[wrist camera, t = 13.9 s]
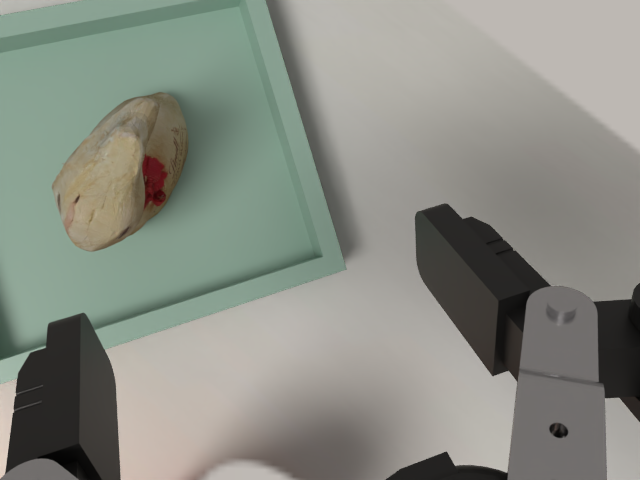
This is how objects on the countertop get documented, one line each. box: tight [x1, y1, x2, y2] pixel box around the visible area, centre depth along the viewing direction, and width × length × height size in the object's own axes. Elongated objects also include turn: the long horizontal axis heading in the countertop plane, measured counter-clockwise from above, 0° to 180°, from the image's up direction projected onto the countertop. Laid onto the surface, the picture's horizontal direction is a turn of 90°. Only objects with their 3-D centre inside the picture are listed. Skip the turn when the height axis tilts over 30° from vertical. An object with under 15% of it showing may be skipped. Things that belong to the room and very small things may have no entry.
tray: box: [0, 0, 346, 384], centre depth 29 cm, size 18×16×2 cm
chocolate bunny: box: [52, 92, 189, 252], centre depth 25 cm, size 6×8×10 cm
